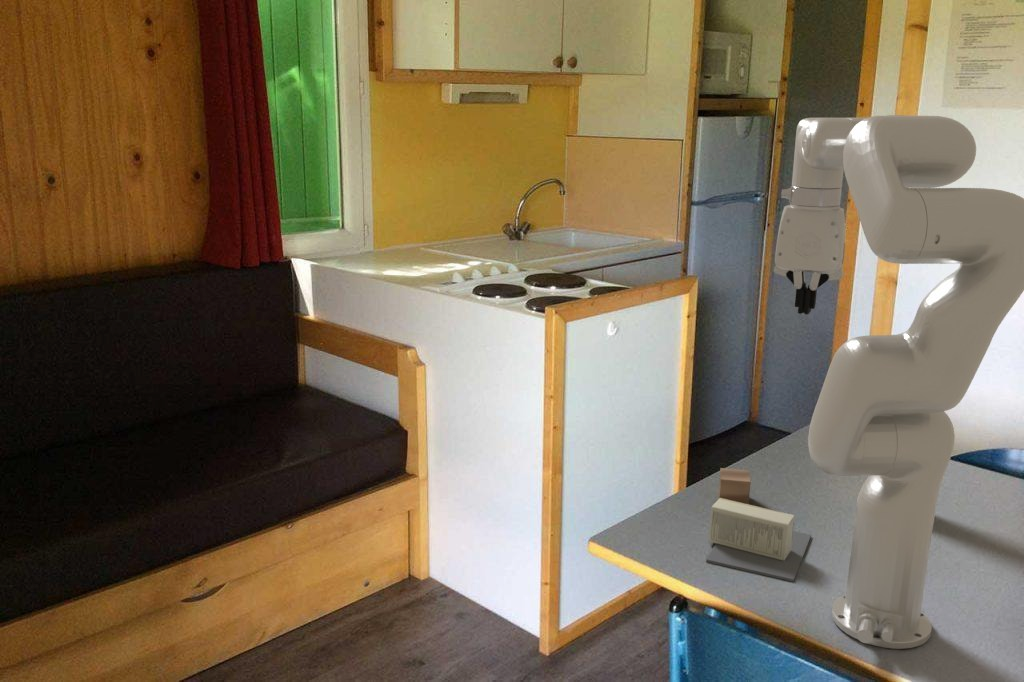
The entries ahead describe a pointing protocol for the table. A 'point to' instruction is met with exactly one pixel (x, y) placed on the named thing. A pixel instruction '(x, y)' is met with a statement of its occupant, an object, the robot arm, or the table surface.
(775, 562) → the mat
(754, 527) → the skincare box
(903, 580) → the robot arm
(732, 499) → the walnut block
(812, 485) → the table surface
